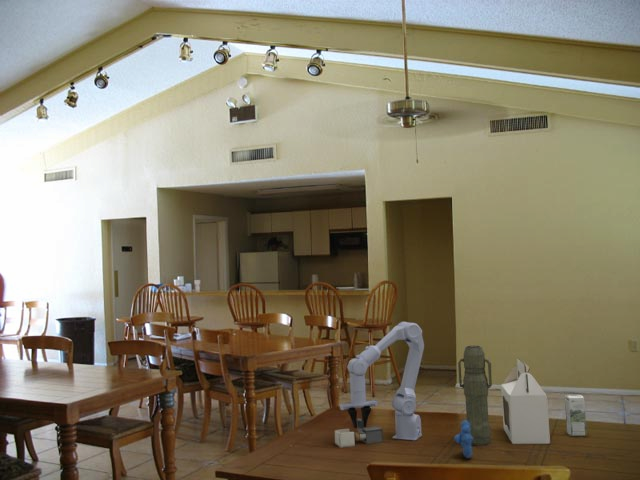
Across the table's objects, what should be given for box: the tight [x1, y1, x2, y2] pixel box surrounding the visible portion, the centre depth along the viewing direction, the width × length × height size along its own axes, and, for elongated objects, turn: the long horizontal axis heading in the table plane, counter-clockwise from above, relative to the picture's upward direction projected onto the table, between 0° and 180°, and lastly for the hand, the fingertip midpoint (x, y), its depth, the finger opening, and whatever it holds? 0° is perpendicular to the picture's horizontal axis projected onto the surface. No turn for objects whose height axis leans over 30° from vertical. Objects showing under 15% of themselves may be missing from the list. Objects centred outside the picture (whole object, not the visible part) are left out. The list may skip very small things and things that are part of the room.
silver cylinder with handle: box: [354, 417, 366, 442], centre depth 239 cm, size 9×4×8 cm, turn 106°
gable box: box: [500, 358, 551, 445], centre depth 238 cm, size 22×13×28 cm, turn 172°
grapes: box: [453, 419, 474, 459], centre depth 216 cm, size 12×7×12 cm, turn 170°
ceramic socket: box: [334, 428, 356, 448], centre depth 237 cm, size 6×6×5 cm
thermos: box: [457, 345, 493, 446], centre depth 233 cm, size 9×12×35 cm
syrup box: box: [564, 394, 588, 437], centre depth 237 cm, size 6×6×14 cm
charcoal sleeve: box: [361, 425, 384, 445], centre depth 240 cm, size 6×5×5 cm
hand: (359, 427), depth 239 cm, fingers open, 3 cm apart
